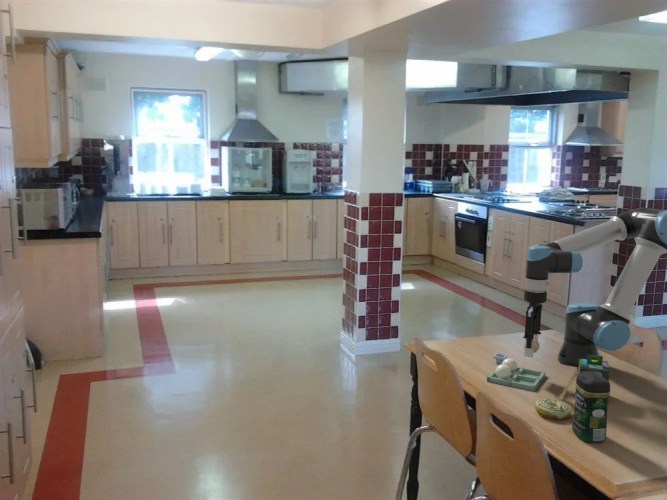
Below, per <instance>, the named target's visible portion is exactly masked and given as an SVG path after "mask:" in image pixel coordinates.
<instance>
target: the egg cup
mask: <svg viewBox="0 0 667 500" xmlns="http://www.w3.org/2000/svg"><path fill="white" fill-rule="evenodd" d="M492 357H493V358H492V359H495V363H497V364H502V362H503V361H504V360H505V359H508V354H504V353H501V352H500V353H499V352H496V353H495V354H494V355H493V356H492Z"/></svg>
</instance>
